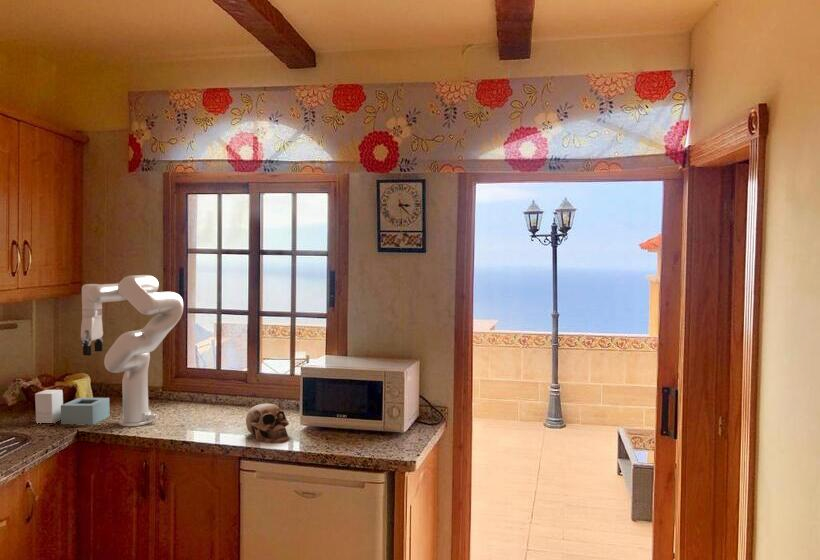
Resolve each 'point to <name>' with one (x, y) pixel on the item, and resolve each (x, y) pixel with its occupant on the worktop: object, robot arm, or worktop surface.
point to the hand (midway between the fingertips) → (93, 353)
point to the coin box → (85, 411)
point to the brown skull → (267, 423)
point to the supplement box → (48, 406)
